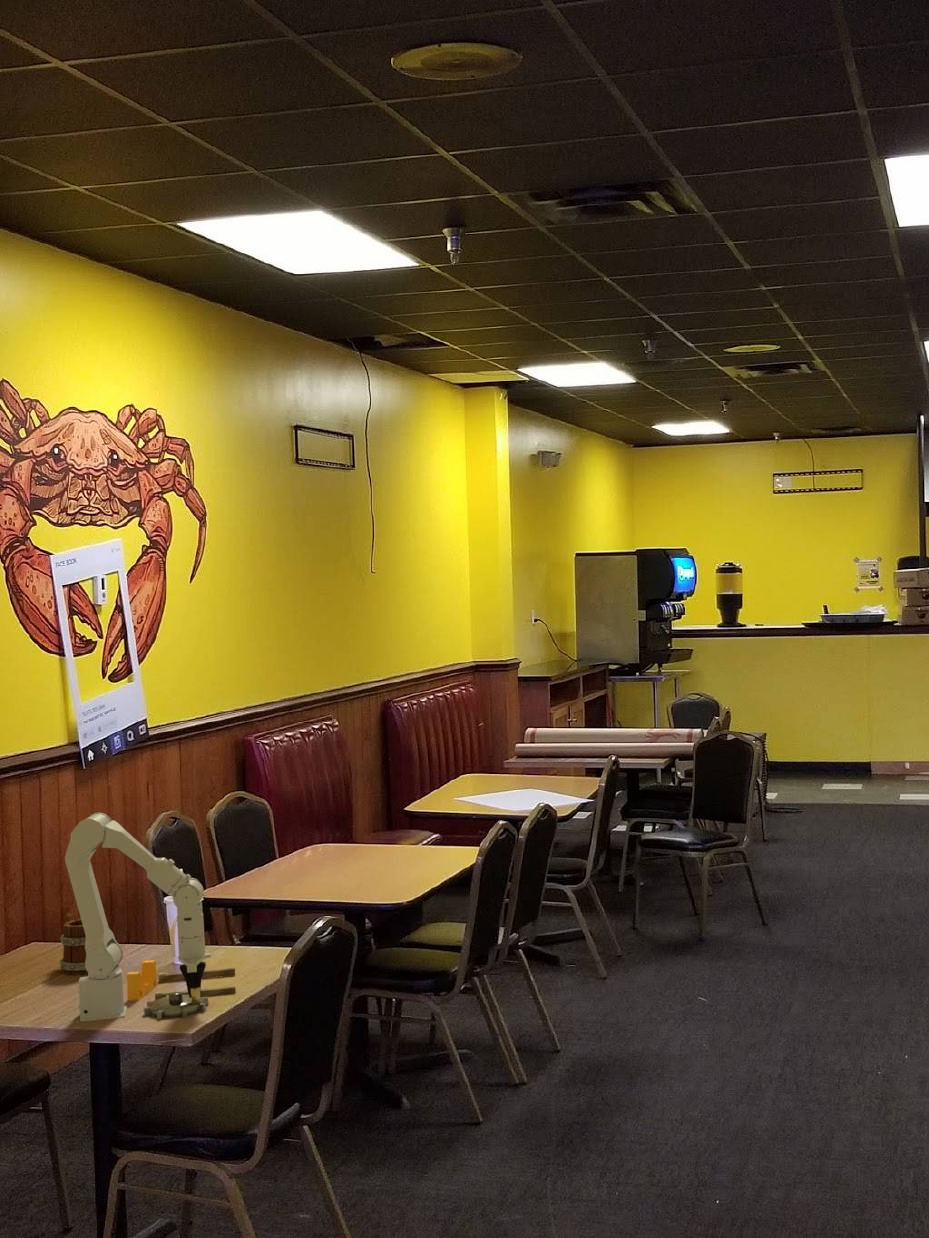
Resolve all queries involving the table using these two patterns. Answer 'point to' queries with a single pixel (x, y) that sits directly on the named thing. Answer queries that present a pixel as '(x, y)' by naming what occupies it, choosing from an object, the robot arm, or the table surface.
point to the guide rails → (206, 974)
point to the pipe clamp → (142, 980)
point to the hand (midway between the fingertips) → (194, 996)
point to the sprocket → (177, 1005)
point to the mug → (73, 947)
